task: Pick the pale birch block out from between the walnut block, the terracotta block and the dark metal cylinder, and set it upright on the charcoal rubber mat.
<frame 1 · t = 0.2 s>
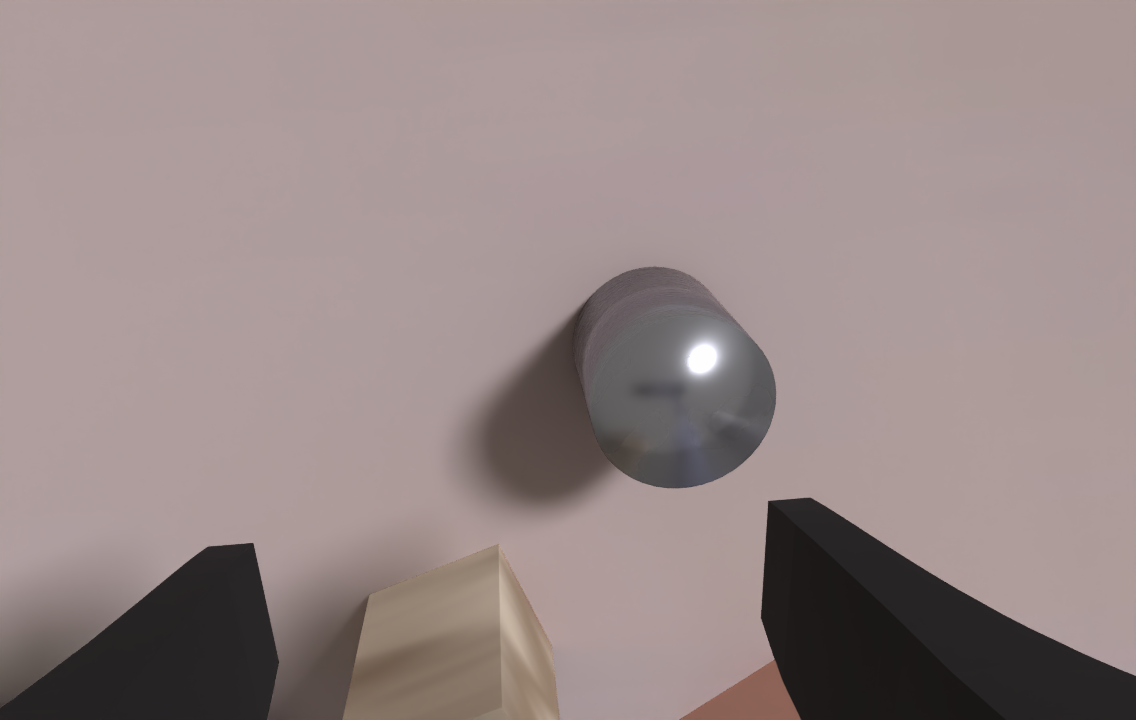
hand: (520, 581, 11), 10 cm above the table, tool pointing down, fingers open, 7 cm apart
pale birch block: (463, 620, 23), on the table
dark metal cylinder: (649, 341, 21), on the table
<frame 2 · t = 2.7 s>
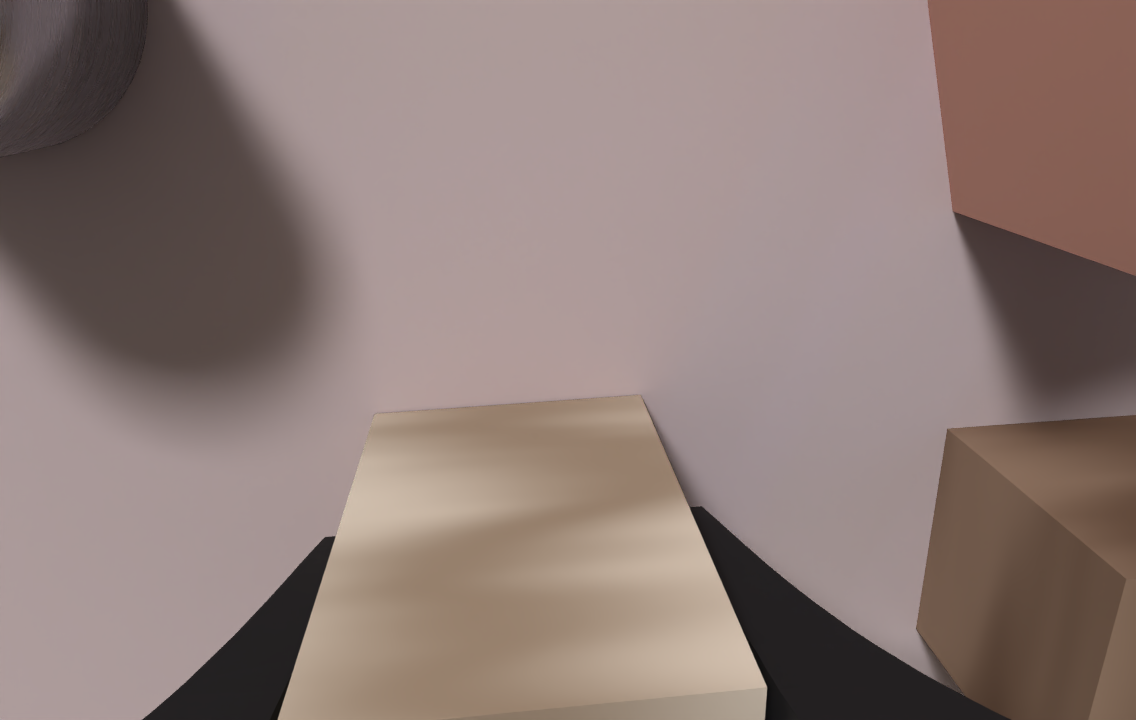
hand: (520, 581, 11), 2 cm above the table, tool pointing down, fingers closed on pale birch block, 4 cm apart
terracotta block: (1074, 24, 11), on the table
pale birch block: (517, 518, 13), on the table, touching gripper
walnut block: (1039, 522, 14), on the table
when the fingers open (4 cm above the table, at t = 8.4 s): pale birch block drops 2 cm, resting on charcoal mat.
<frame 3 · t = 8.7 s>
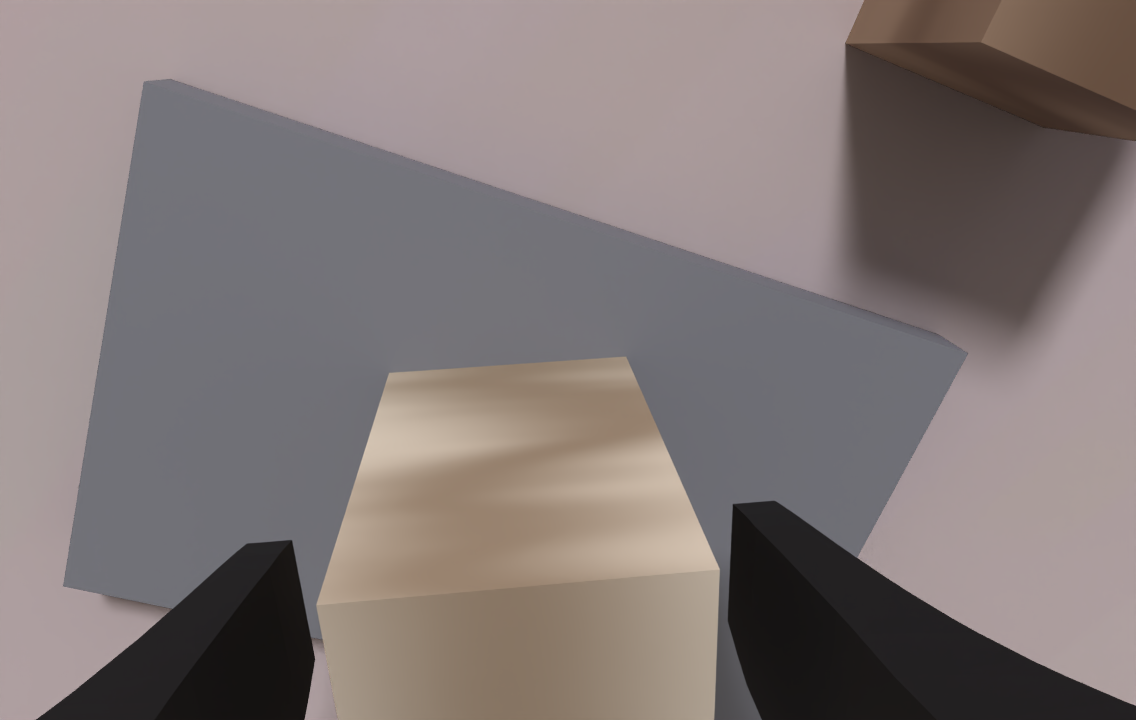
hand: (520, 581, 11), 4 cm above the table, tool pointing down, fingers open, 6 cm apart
charcoal mat: (513, 444, 15), on the table
pale birch block: (516, 468, 14), point 1 cm above the table, touching charcoal mat
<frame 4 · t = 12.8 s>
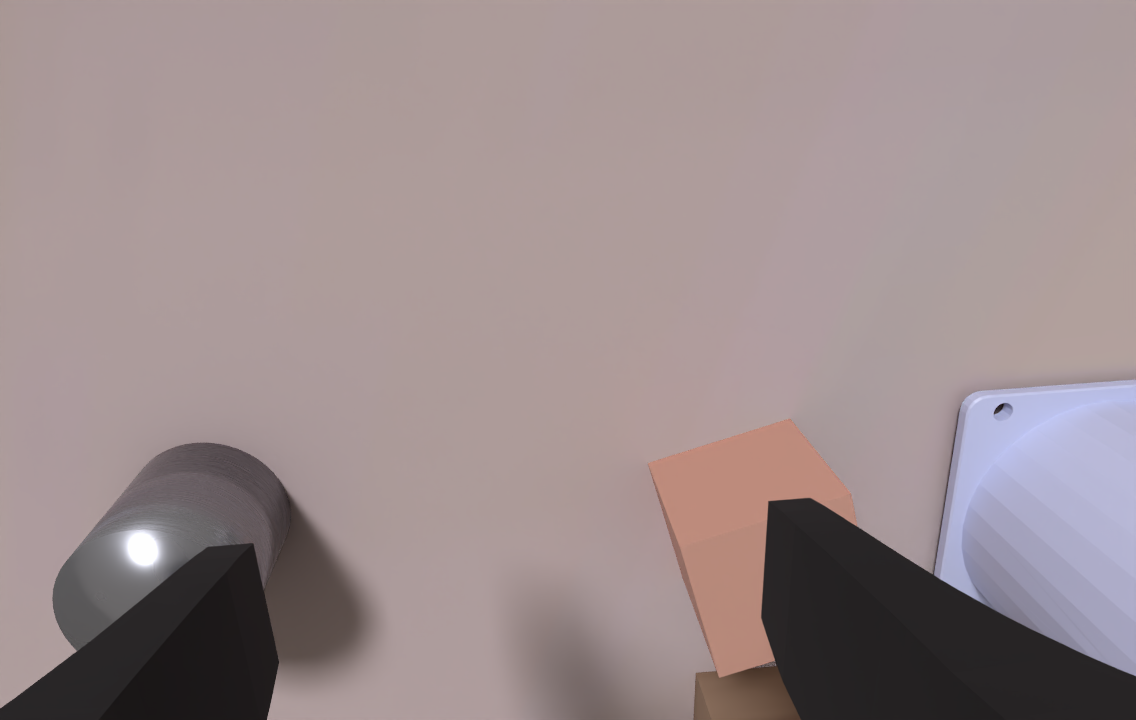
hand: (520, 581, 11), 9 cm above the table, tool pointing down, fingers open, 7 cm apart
terracotta block: (733, 499, 22), on the table
dark metal cylinder: (212, 510, 21), on the table
walnut block: (754, 715, 25), on the table
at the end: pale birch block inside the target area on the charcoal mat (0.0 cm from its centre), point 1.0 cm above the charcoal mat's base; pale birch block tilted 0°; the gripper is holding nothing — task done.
